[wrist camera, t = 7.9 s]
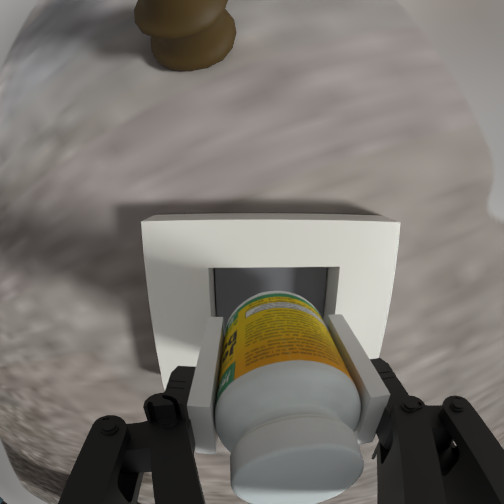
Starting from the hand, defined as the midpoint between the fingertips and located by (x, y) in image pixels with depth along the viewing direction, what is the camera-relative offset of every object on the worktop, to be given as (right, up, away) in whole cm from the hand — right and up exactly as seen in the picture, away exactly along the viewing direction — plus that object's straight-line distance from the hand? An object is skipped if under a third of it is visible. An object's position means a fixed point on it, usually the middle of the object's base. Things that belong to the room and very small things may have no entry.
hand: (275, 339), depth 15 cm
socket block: (0, +1, +4) cm, 4 cm away
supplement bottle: (0, 0, +1) cm, 1 cm away
